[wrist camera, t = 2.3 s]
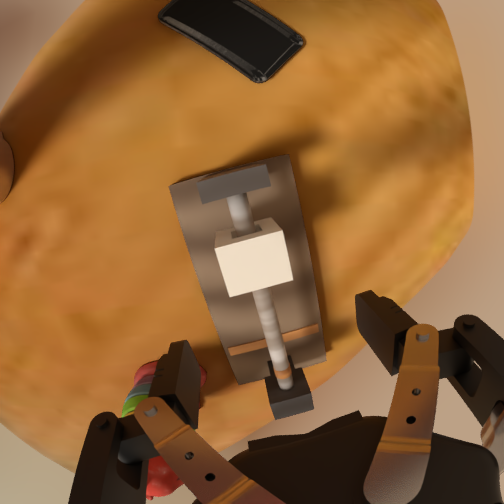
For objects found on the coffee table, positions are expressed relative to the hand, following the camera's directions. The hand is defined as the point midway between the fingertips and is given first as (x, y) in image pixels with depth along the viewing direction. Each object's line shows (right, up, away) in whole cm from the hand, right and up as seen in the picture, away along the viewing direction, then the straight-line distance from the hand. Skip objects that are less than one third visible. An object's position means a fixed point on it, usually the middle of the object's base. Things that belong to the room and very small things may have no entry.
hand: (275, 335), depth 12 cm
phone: (-4, +28, +10) cm, 30 cm away
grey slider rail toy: (0, 0, +19) cm, 19 cm away
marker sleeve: (-1, +4, +13) cm, 14 cm away
